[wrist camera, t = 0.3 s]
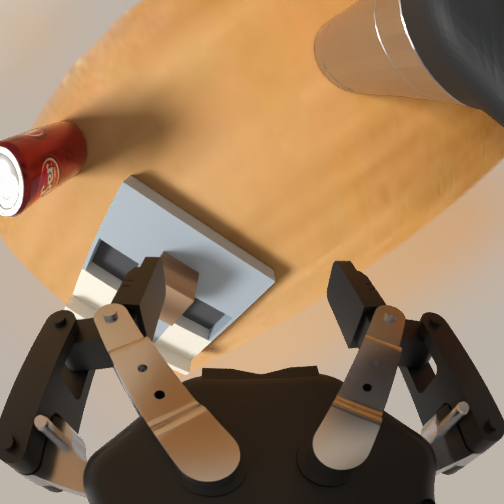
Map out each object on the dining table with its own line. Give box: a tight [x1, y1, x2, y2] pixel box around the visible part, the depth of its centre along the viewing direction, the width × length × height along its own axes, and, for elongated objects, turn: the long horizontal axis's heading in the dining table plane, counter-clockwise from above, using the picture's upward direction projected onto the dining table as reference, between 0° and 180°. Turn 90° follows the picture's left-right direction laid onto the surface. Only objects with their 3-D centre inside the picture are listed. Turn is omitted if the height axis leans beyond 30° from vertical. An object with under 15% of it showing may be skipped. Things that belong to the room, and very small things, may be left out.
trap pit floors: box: [92, 240, 225, 330], centre depth 36 cm, size 6×20×1 cm, turn 51°
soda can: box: [0, 121, 87, 217], centre depth 21 cm, size 7×7×12 cm
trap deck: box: [73, 176, 276, 360], centre depth 35 cm, size 21×21×2 cm
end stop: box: [65, 295, 191, 375], centre depth 37 cm, size 1×21×2 cm, turn 51°
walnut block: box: [159, 251, 199, 326], centre depth 31 cm, size 5×5×5 cm
